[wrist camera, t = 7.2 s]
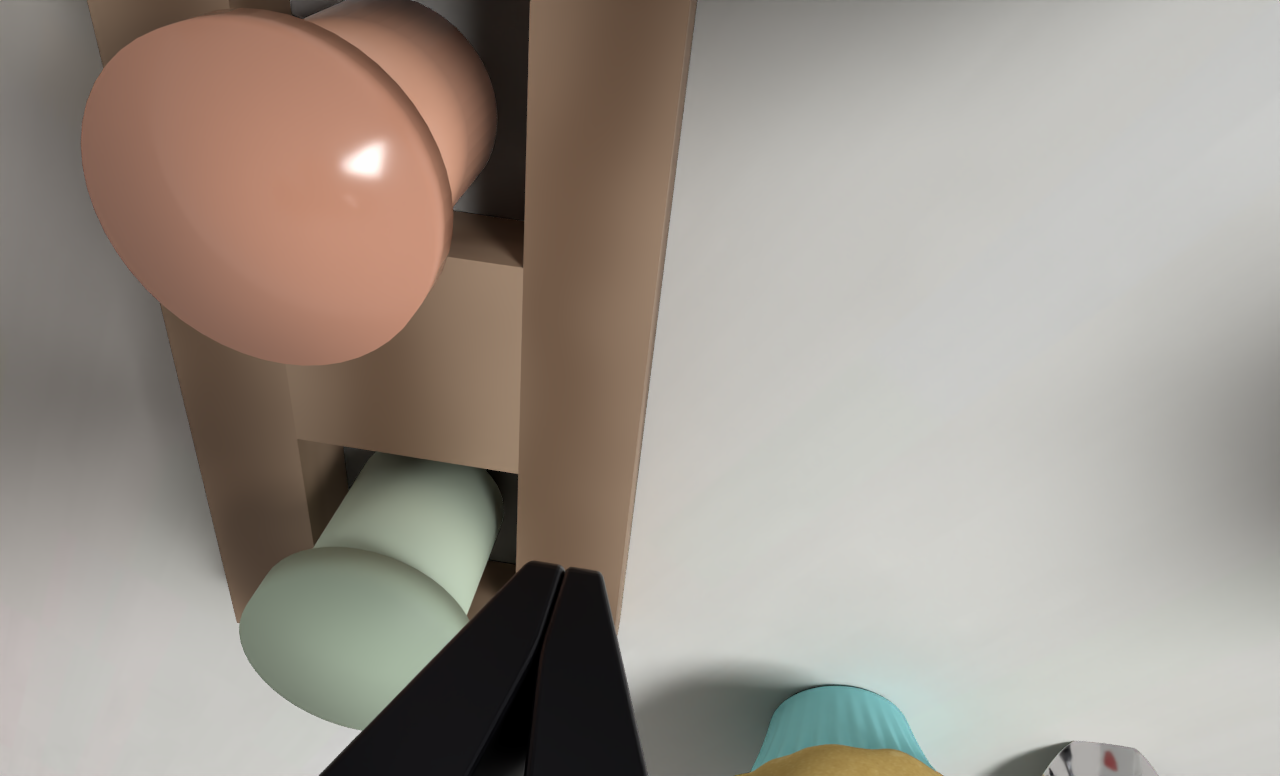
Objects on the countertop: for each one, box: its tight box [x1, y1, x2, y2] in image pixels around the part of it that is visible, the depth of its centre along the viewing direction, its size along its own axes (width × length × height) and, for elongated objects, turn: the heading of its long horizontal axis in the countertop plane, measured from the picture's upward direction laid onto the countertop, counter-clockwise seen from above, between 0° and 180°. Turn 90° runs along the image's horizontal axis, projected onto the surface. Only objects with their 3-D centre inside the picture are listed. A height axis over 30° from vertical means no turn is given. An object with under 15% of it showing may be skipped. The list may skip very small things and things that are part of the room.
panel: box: [87, 0, 697, 634], centre depth 22 cm, size 12×22×2 cm, turn 174°
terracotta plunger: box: [81, 0, 498, 366], centre depth 16 cm, size 6×6×6 cm
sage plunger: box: [239, 452, 504, 731], centre depth 24 cm, size 6×6×6 cm
